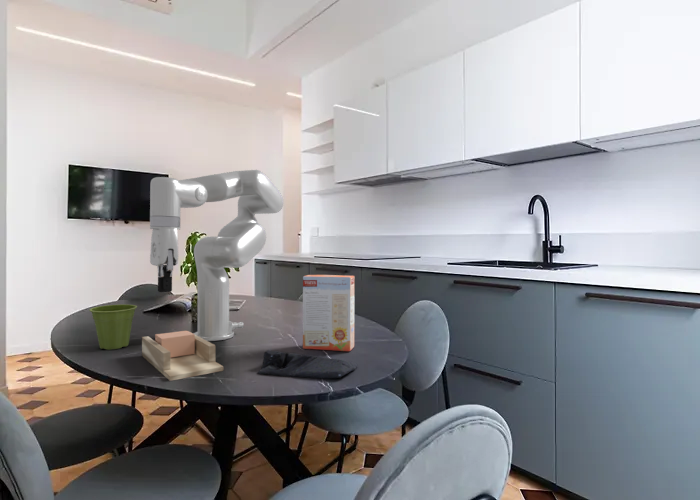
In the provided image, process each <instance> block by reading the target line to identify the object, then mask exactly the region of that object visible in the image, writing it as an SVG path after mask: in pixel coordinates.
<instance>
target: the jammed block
mask: <svg viewBox="0 0 700 500" xmlns="http://www.w3.org/2000/svg"><path fill="white" fill-rule="evenodd" d="M193 333H194V332H193ZM193 333H192V332H191V331H189V330H181V331H172V332H165V333H156V334H154V338H155V339H154V341H156V342H157V343H158V344H160V345H161V346H163V347H164V348H165V349H167V350H168V351H170V358H171V357H178V356H184V355H190V354H195V334H193Z"/></svg>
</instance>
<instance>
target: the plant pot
mask: <svg viewBox="0 0 700 500" xmlns="http://www.w3.org/2000/svg"><path fill="white" fill-rule="evenodd" d="M137 308H138V305H135V304H127V303H126V304H123V303H122V304H120V303H119V304H106V305H100V306H95V307H91V308H89V312H91V316H92V319H93V322H94V325H95V331H96V335H97V341H98V345H99V348H100V349H101V350H103V349H104V350H108V351H109V350H111V351H112V350H118V349H122V347H128V346H129V343H130V338H131V332H132V331H131V330H132V325H133V319H134V316H135V311H136V310H137Z"/></svg>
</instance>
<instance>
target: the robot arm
mask: <svg viewBox="0 0 700 500" xmlns="http://www.w3.org/2000/svg"><path fill="white" fill-rule="evenodd" d="M149 194H150V195H149V198H150V199H149V200H150V201H149V202H150V203H149V205H150V207H149V208H150V209H149V229H150V230H152V231H151V239H150V240H151V242H150V253H149V254H150V255H149V256H150V257H149V262H150V264H151V265H152V266H155V267H157V291H158V293H171V292H172V291H173V271H174V267H175V266H177V265H178V263H179V235H178V231H179V230H181V209H182V208H184V209H185V208H187V209H188V208H199V207H201V206H203V205H204V204H205V203H216V202H223V201H226V200H230V199H234V198H238V200H237V216H236V217H235V218H234V219H232V220H231V221H230V222H229V223H226V225H224V226H223V227H222V228H221V229H220V230H219V232H218V234H217V236H205V237H203V238H200V239H199V240H198V241H196V244H195V245H194V249H193V256H194V261H195V267H196V274H197V276H196V277H197V278H196V279H197V331H195V332H193V334H195V335H197V336H199V337H201V338H202V339H204V340H206V341H208V342H218V341H222V340H223V341H224V340H228V339H231V338H233V337H234V336H235V331H234V330H236V329H243V328H244V327H245V323H244V322H243V321H240V322H236V321H234V322H233V321H231V320H230V278H229V276H228V273H227V272H226V269H225V268H228V269H229V268H233V269H234V268H235V269H237V268H242V267H244V266H246V265H247V264H248V263H250V261H252V260H253V259H254V258H255V257H256V256H257V255H258V254H259V253H261V251H262V249H264V246H265V244H266V242H267V241H266V240H267V233H266V229H265V228H264V226H263V225H262V224H260V223H259V222H258V220H257V218H256V216H255V215H259V214H260V215H261V214H262V215H263V214H265V215H266V214H268V215H269V214H276V213H280V211H282V210H283V207H284V199H283V197H284V196H283V195H282V193H281V191H280V190H279V188H278V187H277V186H276V185H275V183H274V182H273V181H272V179H270V178H269V177H268V176H267V175H266V174H265V173H264V172H263V171H261V170H259V169H251V170H250V169H249V170H248V169H247V170H246V169H245V170H235V171H234V170H233V171H228V172H227V171H226V172H223V173H217V174H209V175H202V176H197V177H192V178H185V179H177V178H174V177H167V176H166V177H165V176H161V177H160V176H156V177H153V178H152V179H151V180H150V191H149Z"/></svg>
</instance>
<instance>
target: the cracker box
mask: <svg viewBox="0 0 700 500" xmlns="http://www.w3.org/2000/svg"><path fill="white" fill-rule="evenodd" d="M353 348H355V275H341V274H339V275H338V274H336V275H335V274H307V275H304V276H302V349H304V350H305V349H306V350H321V351H337V352H350V351H352V350H353Z"/></svg>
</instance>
